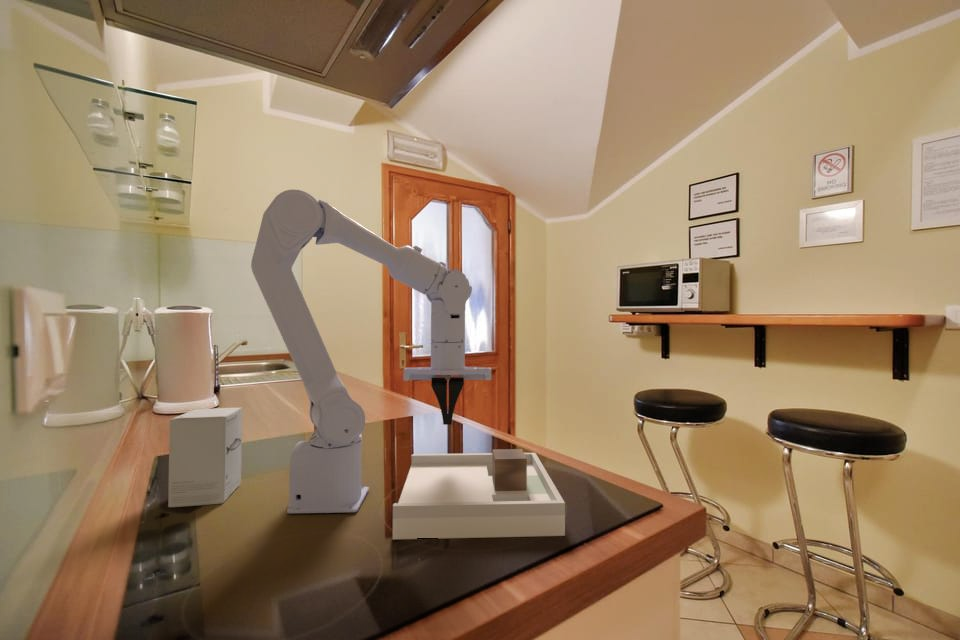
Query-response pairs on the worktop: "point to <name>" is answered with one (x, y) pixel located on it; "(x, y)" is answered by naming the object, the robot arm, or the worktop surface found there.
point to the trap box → (474, 500)
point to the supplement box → (204, 456)
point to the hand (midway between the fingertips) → (447, 423)
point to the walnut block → (509, 470)
